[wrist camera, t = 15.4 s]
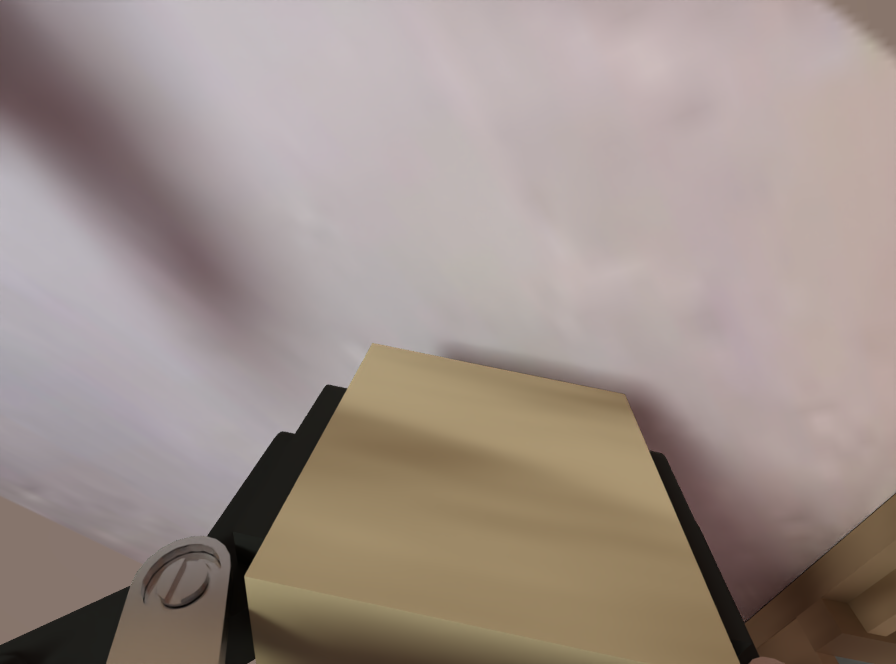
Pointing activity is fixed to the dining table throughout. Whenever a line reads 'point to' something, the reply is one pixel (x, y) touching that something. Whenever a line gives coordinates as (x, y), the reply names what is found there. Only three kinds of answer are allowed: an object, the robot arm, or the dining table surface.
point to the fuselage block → (849, 661)
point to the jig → (838, 602)
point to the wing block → (479, 531)
